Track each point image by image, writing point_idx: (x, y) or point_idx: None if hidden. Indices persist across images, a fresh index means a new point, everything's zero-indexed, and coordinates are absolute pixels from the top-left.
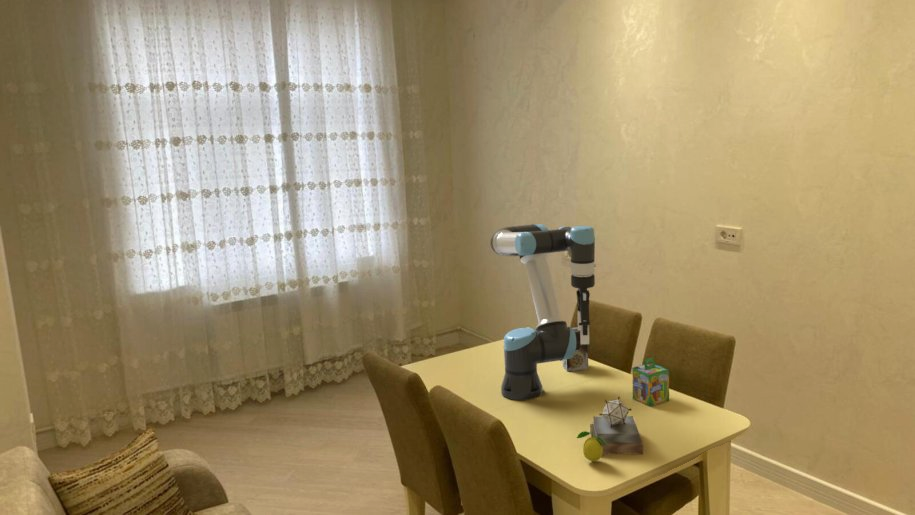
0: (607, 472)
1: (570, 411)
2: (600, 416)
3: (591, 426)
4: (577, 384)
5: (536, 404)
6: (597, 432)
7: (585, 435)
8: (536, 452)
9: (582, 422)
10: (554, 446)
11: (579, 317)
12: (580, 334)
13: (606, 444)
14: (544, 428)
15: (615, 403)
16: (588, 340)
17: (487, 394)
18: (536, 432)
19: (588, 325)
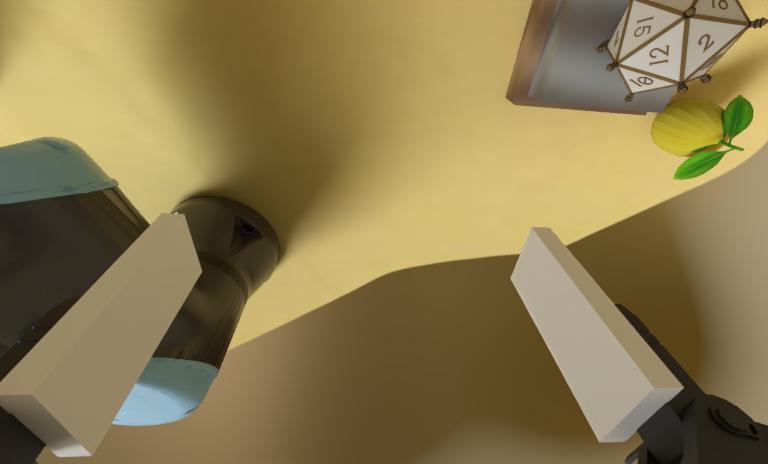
0: (731, 90)
1: (350, 134)
2: (549, 77)
3: (532, 103)
4: (113, 79)
5: (302, 215)
6: (655, 110)
7: (698, 160)
8: (557, 230)
9: (430, 109)
10: (545, 195)
11: (130, 367)
12: (551, 339)
13: None
14: (447, 207)
15: (726, 45)
16: (563, 252)
17: (250, 304)
18: (464, 224)
19: (671, 383)
